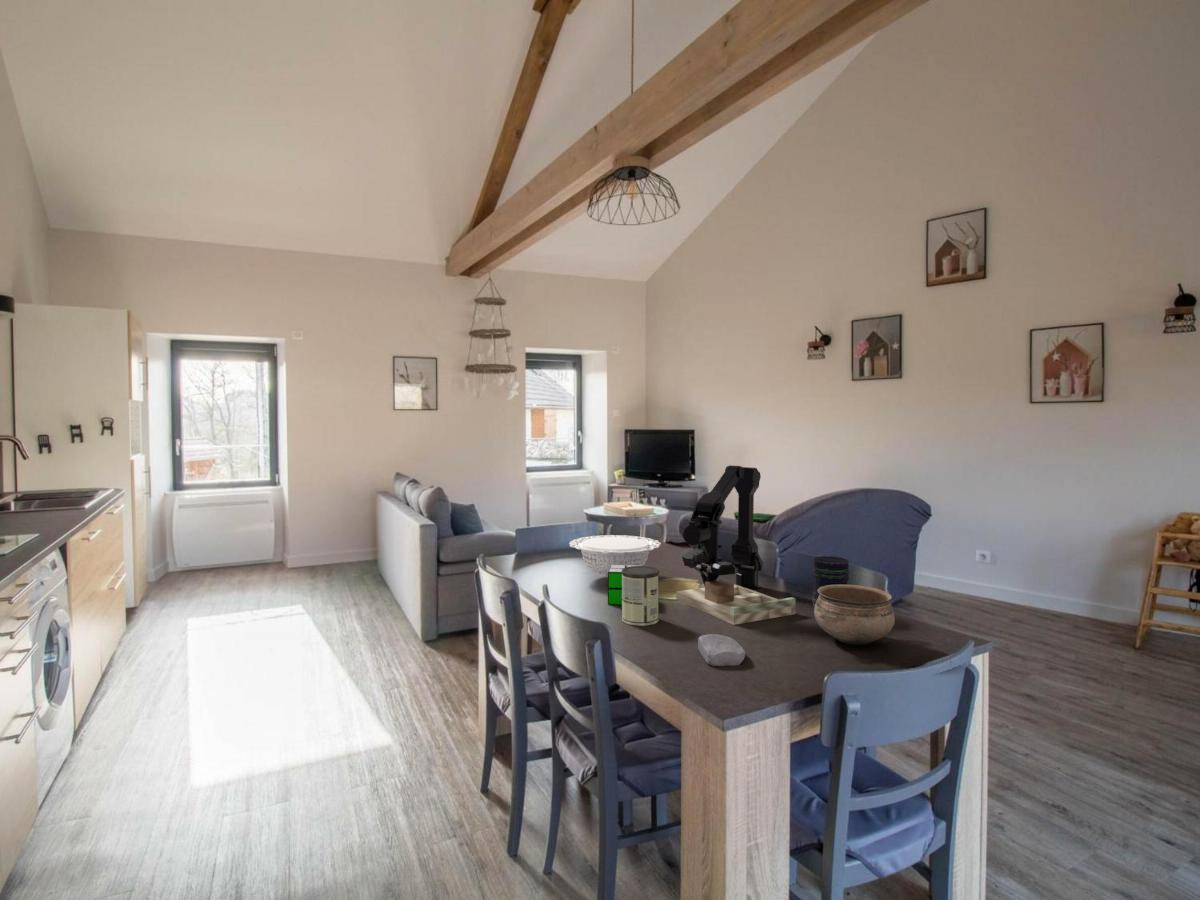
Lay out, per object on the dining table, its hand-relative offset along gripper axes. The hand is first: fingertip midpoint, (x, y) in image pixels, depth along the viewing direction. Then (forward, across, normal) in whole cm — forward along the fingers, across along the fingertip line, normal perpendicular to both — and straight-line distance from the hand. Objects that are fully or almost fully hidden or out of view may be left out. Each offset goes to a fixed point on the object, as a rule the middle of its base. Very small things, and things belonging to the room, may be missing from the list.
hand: (708, 592), depth 201 cm
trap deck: (+4, +6, +5) cm, 8 cm away
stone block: (+4, +38, -23) cm, 45 cm away
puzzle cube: (+4, -14, -20) cm, 25 cm away
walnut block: (+1, +5, 0) cm, 5 cm away
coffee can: (+4, +5, -26) cm, 27 cm away
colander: (+4, -39, -11) cm, 41 cm away
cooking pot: (+4, +44, +13) cm, 46 cm away
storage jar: (+4, +21, +28) cm, 35 cm away
